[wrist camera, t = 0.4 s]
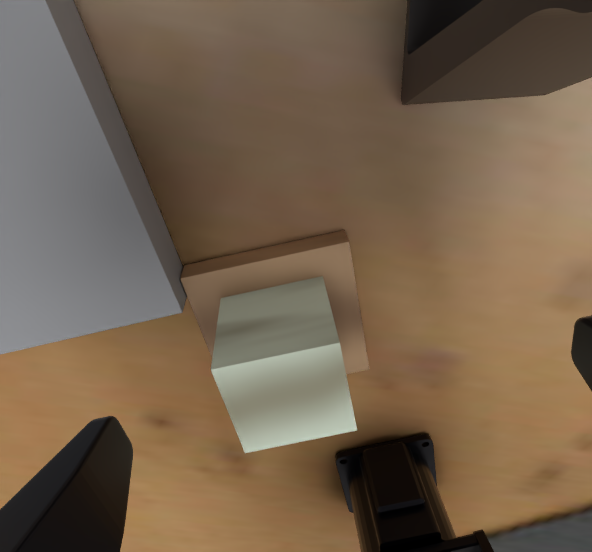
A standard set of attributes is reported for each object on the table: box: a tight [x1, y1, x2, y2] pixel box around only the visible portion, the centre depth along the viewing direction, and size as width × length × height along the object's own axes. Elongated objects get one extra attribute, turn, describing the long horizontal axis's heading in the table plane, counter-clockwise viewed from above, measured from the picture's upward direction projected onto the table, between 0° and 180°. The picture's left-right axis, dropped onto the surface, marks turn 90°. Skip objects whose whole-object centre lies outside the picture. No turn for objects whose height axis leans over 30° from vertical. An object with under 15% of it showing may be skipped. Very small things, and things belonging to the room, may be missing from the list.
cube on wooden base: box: [180, 230, 370, 453], centre depth 20 cm, size 8×8×6 cm
